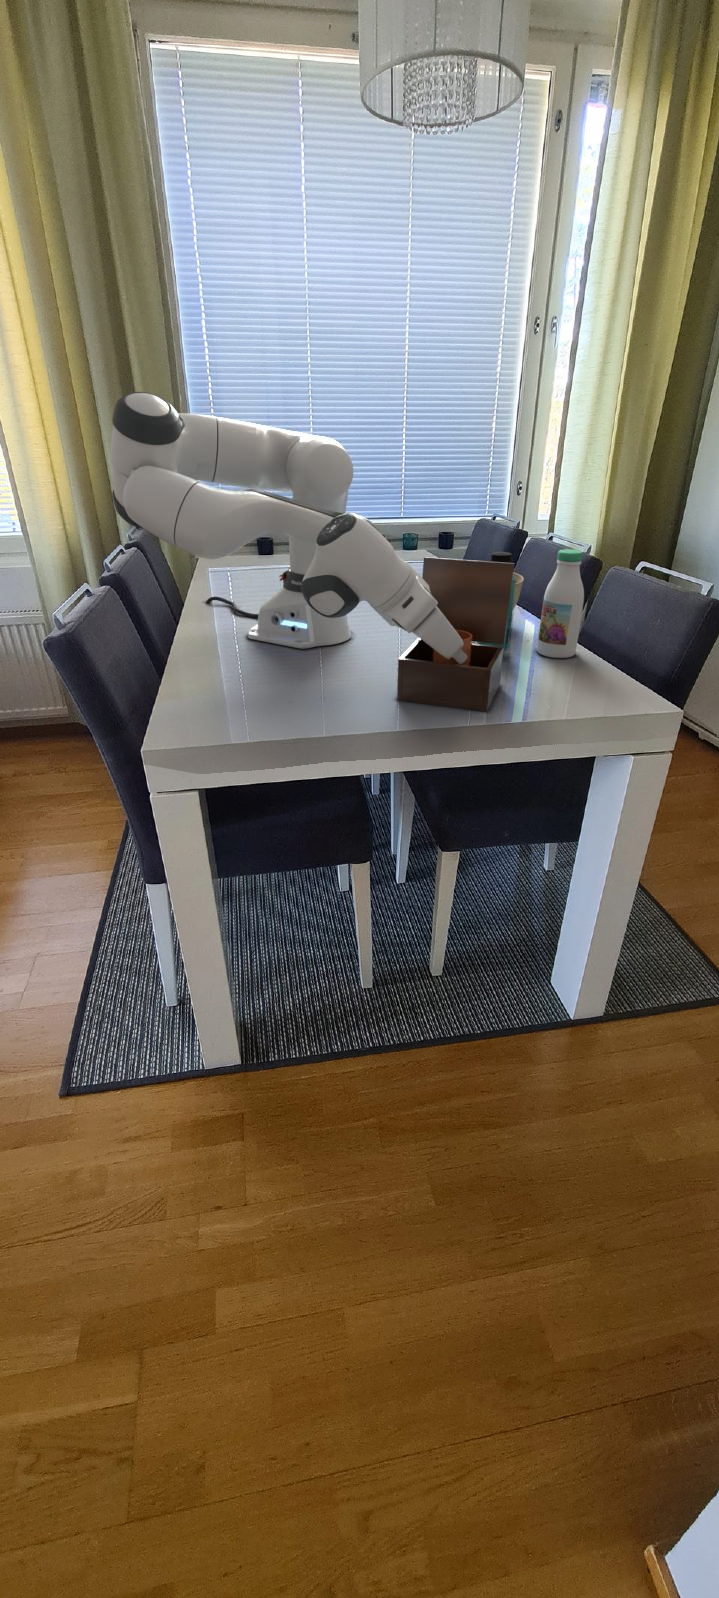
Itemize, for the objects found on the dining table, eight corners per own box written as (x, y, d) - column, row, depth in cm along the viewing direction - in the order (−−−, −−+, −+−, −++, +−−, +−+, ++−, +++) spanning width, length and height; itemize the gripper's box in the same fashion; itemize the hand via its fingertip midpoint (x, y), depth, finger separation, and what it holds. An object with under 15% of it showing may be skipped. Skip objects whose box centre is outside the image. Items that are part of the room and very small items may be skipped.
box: (486, 711, 115) (490, 669, 112) (397, 699, 120) (398, 658, 116) (499, 685, 126) (503, 646, 122) (416, 675, 130) (418, 637, 126)
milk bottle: (557, 645, 146) (572, 545, 136) (583, 655, 140) (600, 552, 130) (528, 650, 143) (541, 549, 133) (553, 661, 137) (569, 556, 127)
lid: (513, 563, 116) (517, 562, 120) (423, 557, 121) (430, 556, 125) (503, 644, 121) (507, 640, 125) (417, 635, 126) (423, 632, 130)
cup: (427, 681, 119) (430, 638, 115) (436, 669, 124) (439, 627, 121) (464, 685, 117) (468, 642, 114) (472, 673, 123) (475, 631, 119)
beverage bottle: (508, 661, 137) (520, 556, 127) (474, 659, 138) (483, 555, 128) (509, 651, 143) (520, 549, 133) (476, 649, 144) (485, 548, 134)
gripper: (373, 597, 121) (424, 647, 128) (405, 630, 104) (462, 686, 111) (398, 569, 120) (448, 622, 127) (435, 598, 103) (491, 657, 110)
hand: (455, 652), depth 119 cm, fingers closed on cup, 6 cm apart
